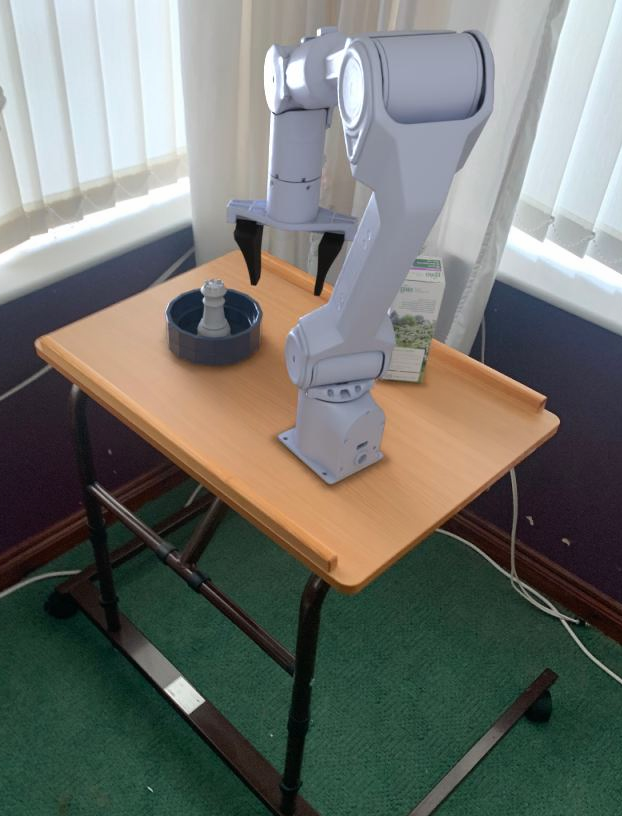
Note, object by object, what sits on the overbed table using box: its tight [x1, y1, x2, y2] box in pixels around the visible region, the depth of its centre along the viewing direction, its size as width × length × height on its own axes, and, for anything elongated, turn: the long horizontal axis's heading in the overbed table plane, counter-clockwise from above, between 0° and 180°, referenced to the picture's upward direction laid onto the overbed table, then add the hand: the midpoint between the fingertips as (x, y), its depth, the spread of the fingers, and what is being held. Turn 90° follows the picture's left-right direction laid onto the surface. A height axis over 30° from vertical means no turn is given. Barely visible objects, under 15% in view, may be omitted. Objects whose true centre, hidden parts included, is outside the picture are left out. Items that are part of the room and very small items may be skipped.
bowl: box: [164, 287, 264, 367], centre depth 102 cm, size 12×12×4 cm
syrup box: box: [376, 255, 447, 384], centre depth 95 cm, size 6×6×14 cm
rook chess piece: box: [197, 277, 231, 338], centre depth 101 cm, size 4×4×8 cm
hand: (286, 286), depth 94 cm, fingers open, 7 cm apart
